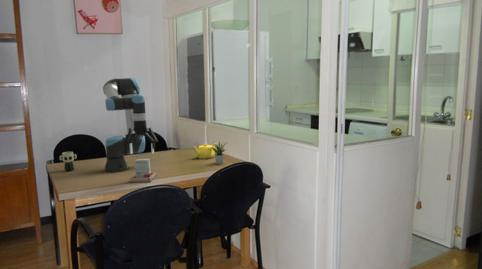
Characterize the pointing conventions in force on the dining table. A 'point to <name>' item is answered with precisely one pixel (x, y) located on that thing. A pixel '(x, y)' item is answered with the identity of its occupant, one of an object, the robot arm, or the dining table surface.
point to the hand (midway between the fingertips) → (142, 153)
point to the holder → (150, 179)
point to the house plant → (219, 153)
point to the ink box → (142, 168)
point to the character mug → (68, 160)
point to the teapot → (205, 151)
